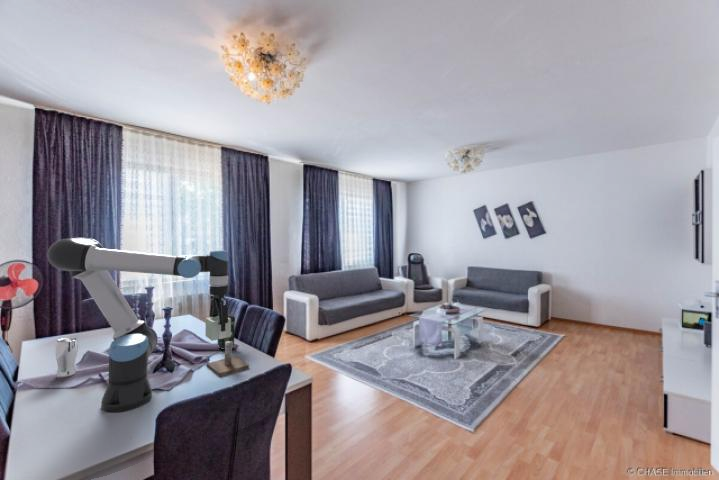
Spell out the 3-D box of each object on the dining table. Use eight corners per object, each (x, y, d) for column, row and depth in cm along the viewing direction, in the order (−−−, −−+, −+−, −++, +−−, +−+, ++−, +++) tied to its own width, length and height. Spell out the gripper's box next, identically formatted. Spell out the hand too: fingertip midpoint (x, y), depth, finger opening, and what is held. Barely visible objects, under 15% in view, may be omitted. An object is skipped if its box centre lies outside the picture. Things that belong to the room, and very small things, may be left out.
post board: (219, 376, 140) (220, 349, 140) (206, 366, 150) (207, 341, 149) (248, 368, 150) (249, 343, 150) (235, 358, 160) (236, 335, 160)
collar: (212, 340, 135) (212, 322, 135) (205, 336, 141) (205, 318, 140) (230, 336, 140) (230, 318, 140) (223, 332, 146) (223, 315, 146)
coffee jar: (215, 346, 176) (216, 313, 175) (230, 343, 181) (231, 311, 180) (220, 351, 168) (222, 317, 168) (235, 348, 173) (237, 315, 173)
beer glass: (77, 374, 135) (79, 340, 135) (55, 379, 130) (56, 343, 130) (76, 369, 140) (77, 336, 140) (54, 374, 135) (55, 339, 135)
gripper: (237, 287, 135) (236, 340, 136) (218, 281, 150) (218, 328, 151) (219, 289, 130) (218, 344, 131) (201, 282, 145) (201, 331, 145)
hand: (218, 335), depth 141 cm, fingers closed on collar, 8 cm apart
